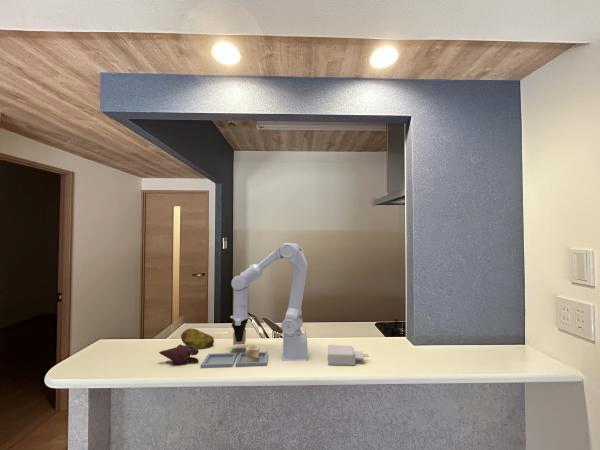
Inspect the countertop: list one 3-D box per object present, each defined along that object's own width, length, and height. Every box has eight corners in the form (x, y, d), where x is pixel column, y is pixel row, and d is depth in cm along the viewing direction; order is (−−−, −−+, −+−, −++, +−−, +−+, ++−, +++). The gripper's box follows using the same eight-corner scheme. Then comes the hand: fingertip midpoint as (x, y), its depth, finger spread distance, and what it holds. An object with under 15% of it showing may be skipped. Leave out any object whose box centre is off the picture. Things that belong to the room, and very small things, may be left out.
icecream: (153, 349, 101) (194, 354, 100) (164, 338, 108) (202, 342, 107) (153, 367, 102) (194, 372, 101) (165, 354, 110) (202, 359, 109)
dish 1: (237, 356, 111) (237, 352, 111) (232, 368, 100) (232, 363, 100) (208, 357, 110) (208, 353, 110) (200, 369, 99) (200, 364, 99)
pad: (249, 349, 119) (249, 347, 119) (247, 355, 112) (247, 353, 112) (232, 349, 119) (232, 348, 119) (229, 356, 112) (229, 354, 112)
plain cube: (259, 358, 109) (259, 345, 109) (258, 362, 104) (258, 349, 104) (247, 358, 108) (247, 346, 109) (245, 363, 104) (245, 350, 104)
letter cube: (245, 340, 118) (245, 329, 119) (244, 344, 114) (244, 332, 114) (234, 341, 118) (234, 329, 118) (233, 344, 113) (233, 332, 114)
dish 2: (268, 355, 112) (268, 351, 112) (266, 367, 101) (266, 362, 101) (239, 356, 111) (239, 352, 111) (235, 368, 100) (235, 363, 100)
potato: (207, 352, 116) (207, 332, 117) (177, 351, 118) (178, 331, 119) (215, 345, 125) (216, 326, 125) (187, 344, 126) (188, 325, 127)
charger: (370, 367, 101) (327, 366, 102) (367, 357, 110) (328, 356, 111) (370, 353, 101) (327, 352, 103) (366, 345, 110) (327, 344, 112)
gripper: (233, 302, 124) (232, 334, 123) (227, 308, 110) (226, 345, 109) (249, 301, 125) (249, 333, 123) (246, 308, 110) (245, 344, 109)
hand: (240, 339), depth 116 cm, fingers closed on letter cube, 5 cm apart
